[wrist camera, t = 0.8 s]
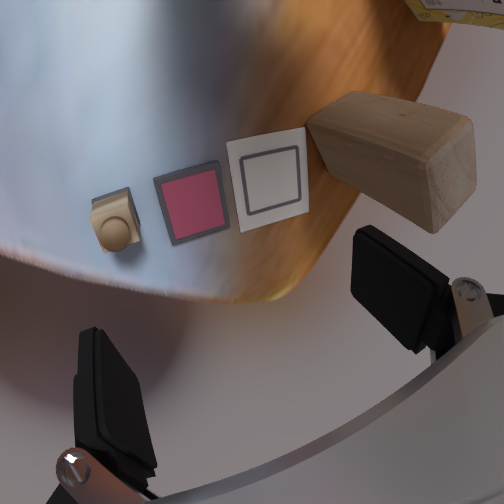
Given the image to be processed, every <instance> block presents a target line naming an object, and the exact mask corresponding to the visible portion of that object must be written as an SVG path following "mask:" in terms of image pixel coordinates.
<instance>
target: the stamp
mask: <svg viewBox="0 0 504 504" xmlns="http://www.w3.org/2000/svg"><path fill="white" fill-rule="evenodd" d="M92 204H93V207H92V211H91V215H90V221H91V224H92V226H93V229H94V231H95V233H96V236H97V238H98V241H99V243H100V245H101V248H102V250H103V252H104V253H106V252H109V251H112V252H117V251H121V250H123V249H124V248H125V247H126V246H127V245H129V244H132V243H135V242H138V241H140V236H139V227H138V224H140V220H139V217H138V214H137V211H136V208H135V205H134V202H133V199H132V196H131V193H130V189H129V187H126V188H123V189H120V190H117V191H114V192H112V193H109V194H106V195H103V196H100V197H98V198H95V199H92Z"/></svg>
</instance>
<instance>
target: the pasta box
mask: <svg viewBox="0 0 504 504" xmlns="http://www.w3.org/2000/svg"><path fill="white" fill-rule="evenodd" d="M404 1H405V2H406V3H407V5H408V6H409V8H410V9H411V10H412V12H413V13H414V15H415V16H416V18H417V19H418V21H426V22H447V23H459V24H469V25H477V26H485V27H490V28H497V29H502V30H504V0H404Z"/></svg>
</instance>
